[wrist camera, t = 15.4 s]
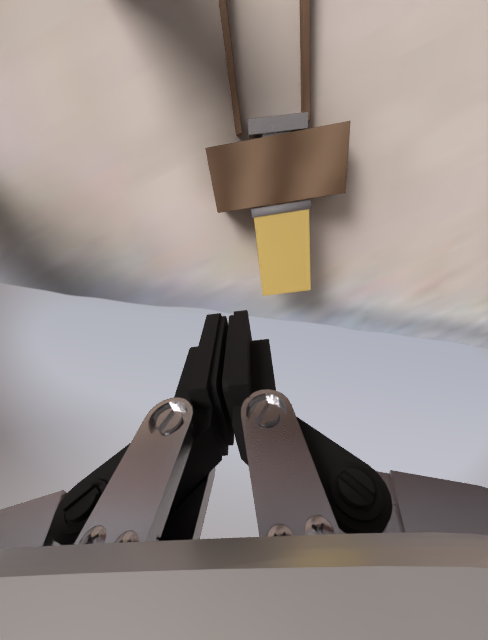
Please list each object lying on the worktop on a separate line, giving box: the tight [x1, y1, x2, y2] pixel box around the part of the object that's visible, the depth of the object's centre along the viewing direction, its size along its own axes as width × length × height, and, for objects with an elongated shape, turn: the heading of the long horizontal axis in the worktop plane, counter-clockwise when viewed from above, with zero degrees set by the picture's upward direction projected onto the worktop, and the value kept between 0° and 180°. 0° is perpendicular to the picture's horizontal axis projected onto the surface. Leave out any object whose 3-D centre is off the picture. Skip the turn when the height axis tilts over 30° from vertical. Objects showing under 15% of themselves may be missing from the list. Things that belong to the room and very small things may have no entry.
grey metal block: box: [248, 112, 308, 207], centre depth 27 cm, size 11×6×4 cm, turn 5°
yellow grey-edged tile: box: [251, 200, 311, 296], centre depth 28 cm, size 6×10×1 cm, turn 8°
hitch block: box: [206, 0, 350, 213], centre depth 22 cm, size 14×21×5 cm, turn 8°
